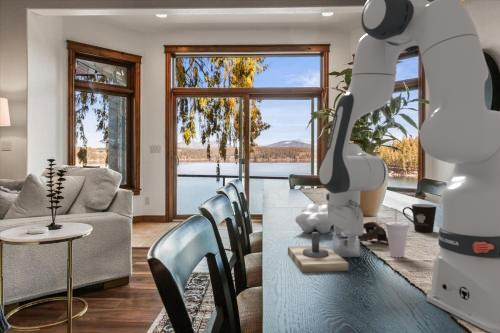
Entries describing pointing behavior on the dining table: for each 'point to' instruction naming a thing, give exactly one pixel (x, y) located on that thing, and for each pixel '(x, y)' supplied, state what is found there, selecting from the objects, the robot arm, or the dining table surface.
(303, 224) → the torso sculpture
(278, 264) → the dining table surface
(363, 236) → the brown hollow curved piece
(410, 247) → the dining table surface
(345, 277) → the dining table surface
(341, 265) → the post block
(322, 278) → the dining table surface
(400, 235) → the smoothie
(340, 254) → the grey hollow square block
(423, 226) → the coffee mug
